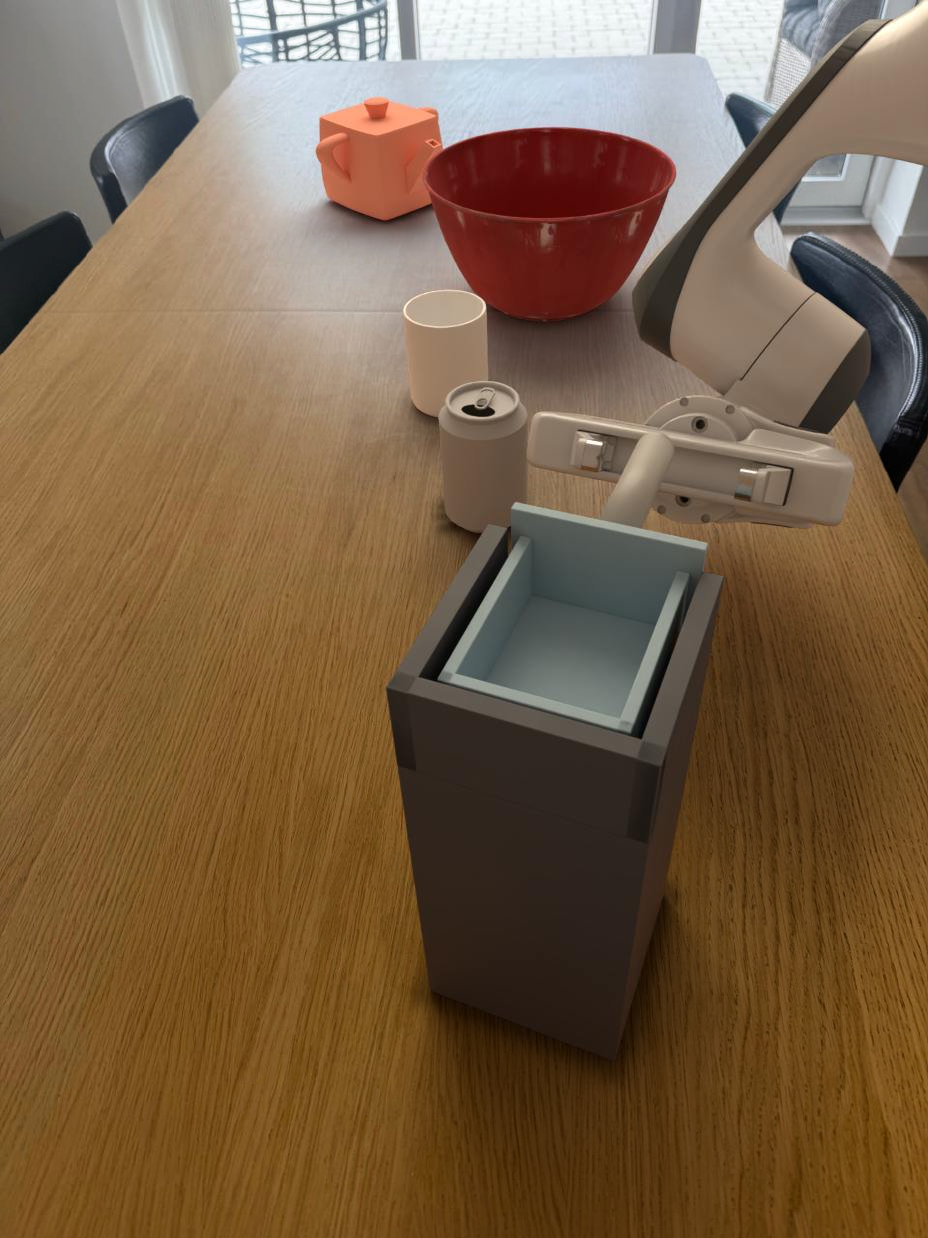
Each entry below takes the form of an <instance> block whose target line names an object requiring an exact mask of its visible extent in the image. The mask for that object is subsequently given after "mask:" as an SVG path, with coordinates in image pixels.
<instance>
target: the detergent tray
mask: <svg viewBox="0 0 928 1238" xmlns="http://www.w3.org/2000/svg"><path fill="white" fill-rule="evenodd" d="M673 456H674V444H673V442H672V440H671V439H670V437H669V436H668V435H666V434H664V433H662V432H657V431H655V432H649V433H647V434H645V435H644V436H642V437H641V439H640V440H639V441H638V443H637V445H636V447H635V449H634V451H633V453H632V455H631V457H630V459H629V461H628V463H627V465H626V467H625V469H624V471H623V473H622V475H621V477H620V479H619V481H618V483H616V485H615V487H614V489H613V491H612V492H611V495H610V497H609V499H608V501H607V503H606V505H605V507H604V509H603V511H602V513H601V515H600V517H599V518H598V519H597V518H593V517H588V516H582V515H579V514H574V513H568V512H565V511H560V510H555V509H551V508H545V507H541V506H537V505H531V504H528V503H527V504H522V503H518V502H515V503H514V504H513V506H512V508H511V526H510V551H511V552H510V553H509V554H508V558H507V560H506V562H505V564H504V565H503V567H502V569H501V570H500V572H499V574H498V576H497V577H496V579H495V581H494V583H493V584H492V586H491V588H490V589H489V591H488V593H487V595H486V596H485V598H484V600H483V601H482V603H481V605H480V607H479V608H478V610H477V612H476V614H475V615H474V617H473V619H472V620H471V622H470V624H469V626H468V627H467V629H466V631H465V632H464V634H463V636H462V638H461V639H460V641H459V643H458V644H457V646H456V648H455V650H454V651H453V653H452V655H451V657H450V658H449V660H448V662H447V663H446V665H445V667H444V669H443V670H442V672H441V674H440V675H439V677H438V679H437V682H438V683H442V684H445V685H449V686H452V687H456V688H459V689H463V690H467V691H470V692H474V693H477V694H481V695H484V696H488V697H492V698H495V699H499V700H502V701H506V702H509V703H513V704H517V705H520V706H524V707H527V708H531V709H534V710H538V711H542V712H545V713H549V714H552V715H556V716H559V717H563V718H567V719H570V720H574V721H577V722H581V723H584V724H588V725H592V726H595V727H599V728H602V729H606V730H609V731H613V732H617V733H620V734H624V735H627V736H631V737H634V738H638V739H642V737H643V734H644V731H645V728H646V726H647V723H648V720H649V717H650V715H651V712H652V709H653V706H654V703H655V701H656V698H657V695H658V692H659V689H660V687H661V684H662V681H663V678H664V675H665V673H666V670H667V667H668V664H669V662H670V659H671V656H672V653H673V650H674V648H675V645H676V642H677V639H678V636H679V634H680V631H681V628H682V625H683V622H684V620H685V617H686V614H687V611H688V608H689V606H690V603H691V600H692V597H693V595H694V592H695V589H696V586H697V583H698V581H699V578H700V575H701V573H702V572H705V567H706V561H707V555H708V549H709V542H706V541H701V540H696V539H691V538H687V537H683V536H678V535H673V534H668V533H664V532H659V531H654V530H650V529H644V528H643V526H644V523H645V521H646V519H647V517H648V515H649V512H650V511H651V509H652V507H651V506H652V504H653V501H654V499H655V497H656V495H657V492H658V490H659V488H660V486H661V483H662V481H663V479H664V477H665V474H666V472H667V470H668V468H669V465H670V463H671V461H672V459H673Z"/></svg>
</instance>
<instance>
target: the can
mask: <svg viewBox="0 0 928 1238" xmlns="http://www.w3.org/2000/svg"><path fill="white" fill-rule="evenodd" d="M528 417H529V415H528V412H527V408H526V407H525V405H524V404H523V403H522V402H521V398H520V394H519V393H518V391H516V390H515V389H514V388H513V387H511V386H510V385H507V384H505V383H502V382H498V381H493V380H491V381H490V380H488V381H476V382H470V383H467V384H463V385H461V386H459V387H457V388H455V389H453V390H452V391H451V392H450V393H449V394H448V395H447V397H446V399H445V406H444V407H443V408H442V409H441V411H440V413H439V417H438V426H439V427H438V430H439V442H440V444H439V445H440V457H441V458H440V459H441V471H442V474H441V475H442V487H443V488H442V489H443V500H444V502H443V503H444V510H445V511H444V512H445V514H446V516H447V518H448V519H449V520H450V522H452V523H454V524H456V525H457V526H458V527H460V528H462V529H464V530H466V531H469V532H472V533H475V534H482V533H483V532H484V530H485V528H486V527H487V525H488V524H491V525H495V526H500V527H504V528H509V527H510V528H511V508H512V506H513V504H514V503H515V502H518V503H522V504H527V505H528V461H527V457H526V456H527V445H528V439H529V432H528V431H529V429H528V421H529V420H528Z"/></svg>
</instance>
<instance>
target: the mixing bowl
mask: <svg viewBox="0 0 928 1238" xmlns="http://www.w3.org/2000/svg"><path fill="white" fill-rule="evenodd" d="M676 177H677V168H676V164H675V163H674V161H673V160H672V158H671V157H670V156H669V155H668V154H666V152H664V151H663V150H661V149H660V148H658V147H656V146H654V145H653V144H650V143H648V142H646V141H643V140H641V139H638V138H635V137H631V136H628V135H624V134H620V133H616V132H612V131H605V130H601V129H591V128H584V127H583V128H582V127H569V126H540V127H539V126H538V127H525V128H514V129H506V130H499V131H498V130H497V131H493V132H489V133H484V134H479V135H476V136H472V137H469V138H466V139H463V140H460V141H457V142H454V143H453V144H451V145H448V146H447V147H444V148H443V150H441V151H440V152H438V153H437V154H436V155H434V156H433V157H432V158H431V159H430V160H429V161H428V162H427V164H426V166H425V168H424V170H423V182H424V185H425V187H426V188H427V190H428V192H429V195H430V199H431V202H432V203H431V204H432V209H433V212H434V214H435V217H436V220H437V223H438V226H439V228H440V231H441V235H442V236H443V237H442V238H443V239H444V242H445V244H446V246H447V248H448V250H449V252H450V255H451V257H452V259H453V260H454V263H455V264H456V266H457V268H458V270H459V272H460V274H461V275H462V277H463V279H464V280H465V282H466V283H467V285H468V286H469V288H470V289H471V290H472V291H473V292H474V294H475V295H477V296H479V297H480V298H481V299H482V300H483V301H484V302H485V304H486V305H488V306H490V307H493V308H495V309H496V310H498V311H499V312H501V313H503V314H504V315H507V316H509V317H511V318H515V319H519V320H524V321H530V322H541V323H545V322H559V321H566V320H571V319H574V318H577V317H580V316H582V315H584V314H586V313H589V312H590V311H592V310H594V309H596V308H598V307H600V306H602V305H603V304H605V303H606V302H608V301H609V300H610V299H611V298H613V297H614V295H616V293H618V291H619V290H620V289H621V288H622V287H623V285H625V283H626V281H628V279H629V277H630V276H631V274H632V272H633V271H634V269H635V267H636V266H637V264H638V262H639V261H640V259H641V257H642V256H643V253H644V252H645V249H646V248H647V245H648V243H649V242H650V239H651V238H652V236H653V233H654V231H655V229H656V227H657V224H658V221H659V219H660V217H661V214H662V212H663V209H664V206H665V204H666V201H667V198H668V196H669V195H668V194H669V192H670V189H671V187H673V185H674V184H675V181H676Z"/></svg>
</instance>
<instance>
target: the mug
mask: <svg viewBox="0 0 928 1238" xmlns="http://www.w3.org/2000/svg"><path fill="white" fill-rule="evenodd" d="M402 317H403V318H402V319H403V327H404V328H403V329H404V338H405V349H406V361H407V370H408V371H407V373H408V381H409V382H408V383H409V393H410V398H411V402H412V404H413V405H414V407H416V409H417V410H419V411H420V412H422V413H423V414H425V415H428V416H430V417H434V418H439V413H440V411H441V409H442V408H443V407H444V406H445V399H446V397H447V395H448V394H449V393H450V392H451V391H452V390H453V389H455V388H457V387H459V386H461V385H463V384H467V383H470V382H476V381H489V357H488V354H489V353H488V320H487V319H488V318H487V317H488V316H487V303H486V302H485V301H483V300H482V299H481V298H480V297H479V296H478V295H477V294H476V293H472V292H469V291H465V290H460V289H437V290H432V291H427V292H424V293H421V294H418V295H416V296H414V297H412V298H411V299H409V300H407V302H406V303H405V304H404V307H403V309H402Z"/></svg>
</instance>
